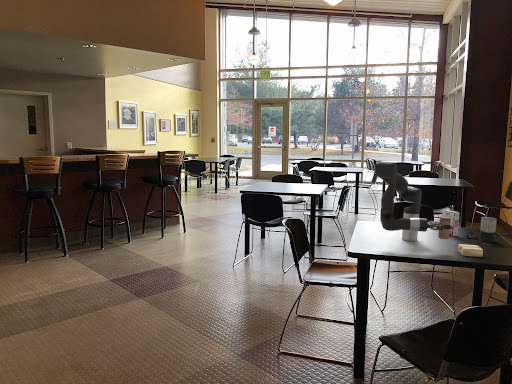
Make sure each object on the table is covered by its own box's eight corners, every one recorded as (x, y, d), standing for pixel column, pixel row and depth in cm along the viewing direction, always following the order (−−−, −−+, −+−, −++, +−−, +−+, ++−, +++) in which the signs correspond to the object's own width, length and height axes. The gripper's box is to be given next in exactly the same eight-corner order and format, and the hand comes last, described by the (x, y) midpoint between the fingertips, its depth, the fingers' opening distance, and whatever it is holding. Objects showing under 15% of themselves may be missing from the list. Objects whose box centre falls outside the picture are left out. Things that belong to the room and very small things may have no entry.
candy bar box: (458, 236, 281) (460, 212, 279) (452, 236, 279) (454, 212, 277) (445, 232, 291) (447, 209, 289) (439, 232, 289) (441, 209, 287)
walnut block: (438, 236, 238) (439, 216, 237) (446, 237, 238) (448, 216, 236) (440, 238, 234) (441, 218, 232) (448, 239, 233) (450, 218, 232)
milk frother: (498, 242, 265) (500, 219, 264) (473, 241, 265) (475, 218, 263) (485, 237, 279) (487, 215, 278) (462, 236, 279) (464, 214, 278)
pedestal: (457, 250, 241) (458, 244, 240) (476, 252, 239) (477, 245, 238) (462, 255, 231) (463, 248, 230) (482, 256, 229) (483, 249, 228)
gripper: (420, 220, 230) (453, 222, 227) (415, 215, 244) (446, 217, 241) (419, 233, 231) (452, 235, 228) (414, 228, 245) (445, 229, 242)
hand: (449, 226), depth 234 cm, fingers closed on walnut block, 4 cm apart
